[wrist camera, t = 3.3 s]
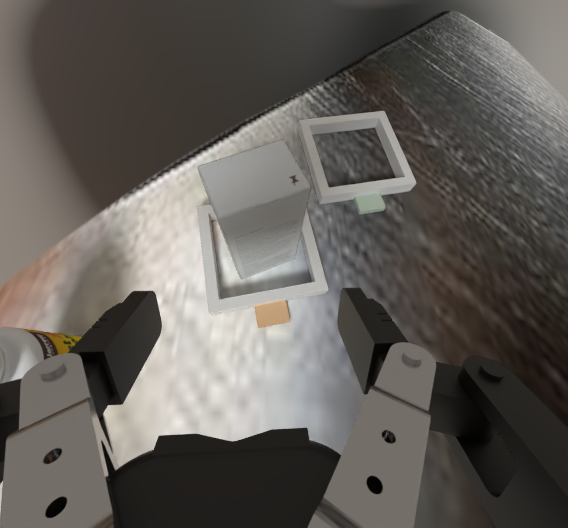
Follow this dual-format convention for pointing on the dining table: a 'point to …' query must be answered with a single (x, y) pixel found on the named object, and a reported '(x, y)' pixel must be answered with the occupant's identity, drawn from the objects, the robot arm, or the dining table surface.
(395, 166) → the frame
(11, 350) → the supplement bottle
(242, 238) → the skincare box
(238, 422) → the dining table surface
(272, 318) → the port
